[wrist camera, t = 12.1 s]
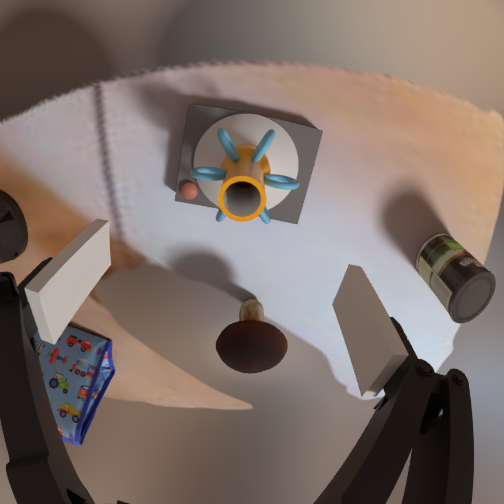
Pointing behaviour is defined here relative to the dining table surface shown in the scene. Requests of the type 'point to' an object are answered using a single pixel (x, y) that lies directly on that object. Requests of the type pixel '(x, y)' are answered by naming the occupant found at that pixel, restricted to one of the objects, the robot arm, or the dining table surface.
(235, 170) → the yellow tube with rings
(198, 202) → the mount slab
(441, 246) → the coffee can
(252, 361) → the decorative mushroom
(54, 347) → the lunch bag
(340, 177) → the dining table surface
